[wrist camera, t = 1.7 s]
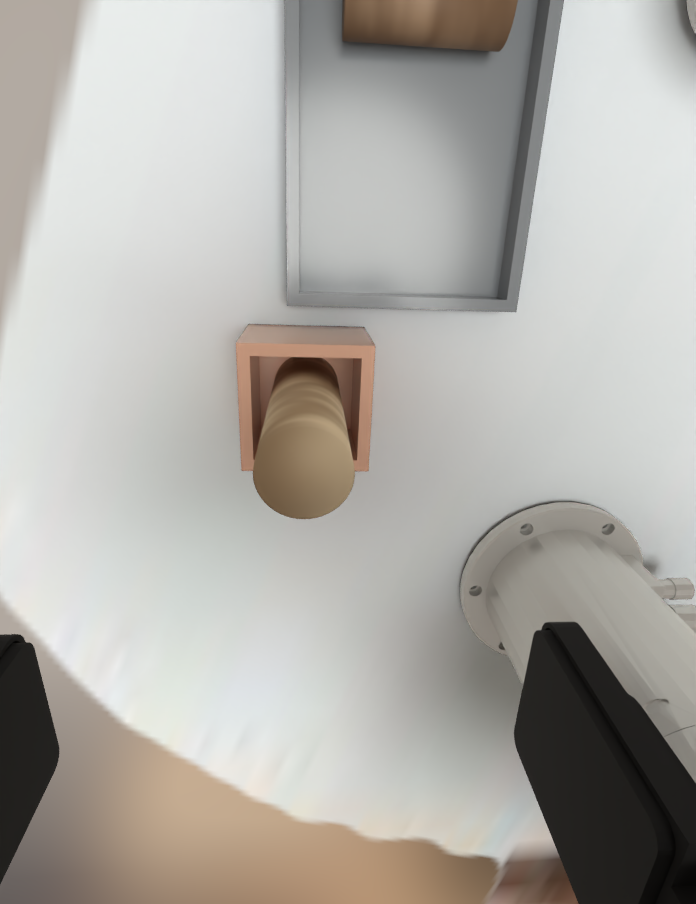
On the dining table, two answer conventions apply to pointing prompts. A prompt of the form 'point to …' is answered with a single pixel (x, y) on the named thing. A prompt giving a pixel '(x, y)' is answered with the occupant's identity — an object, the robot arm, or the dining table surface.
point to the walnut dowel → (430, 23)
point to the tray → (412, 163)
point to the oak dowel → (304, 442)
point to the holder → (277, 343)
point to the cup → (692, 13)
